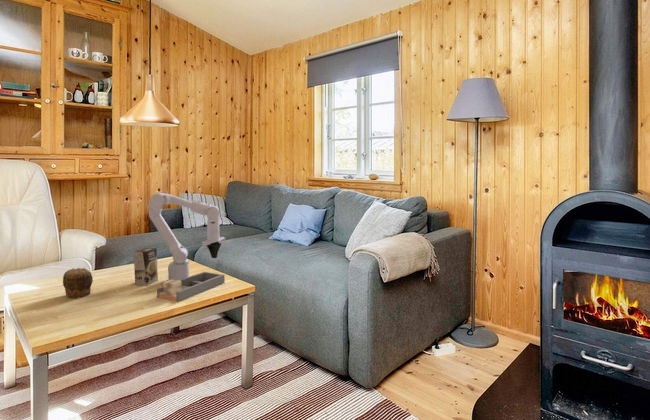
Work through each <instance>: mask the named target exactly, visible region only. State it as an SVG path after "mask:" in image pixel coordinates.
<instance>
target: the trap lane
mask: <svg viewBox="0 0 650 420" xmlns="http://www.w3.org/2000/svg"><path fill="white" fill-rule="evenodd" d="M179 281H181V288H182V290H181V291H178V292H176V295H173V296H172V295H167V294H164V285H162V286H159V287H157V288H156V298H159V299H162V300H163V299H164V300H169V301H174V302H178V303H179V302H182V301H184V300H187V299H189V298H192V297H194V296H196V295H199V294H201V293H204V292H206V291H208V290H211V289H213V288H215V287H218V286H220V285H221V286H222V285H223V284H225V283H226V282H225V281H226V280H225V274H222V273H215V272H210V271H202V272H199V273H195V274H193V275H189V277H187V278H184V279H182V280H179Z"/></svg>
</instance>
